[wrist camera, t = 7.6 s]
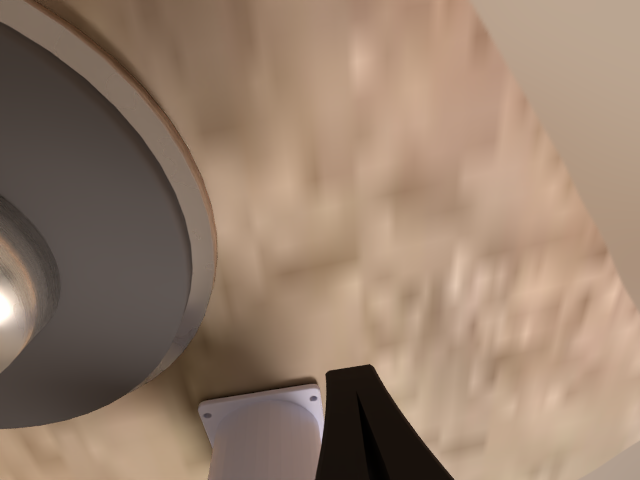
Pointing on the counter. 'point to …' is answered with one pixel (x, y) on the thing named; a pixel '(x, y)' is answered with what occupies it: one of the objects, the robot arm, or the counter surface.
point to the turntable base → (156, 130)
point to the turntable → (87, 239)
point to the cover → (23, 282)
